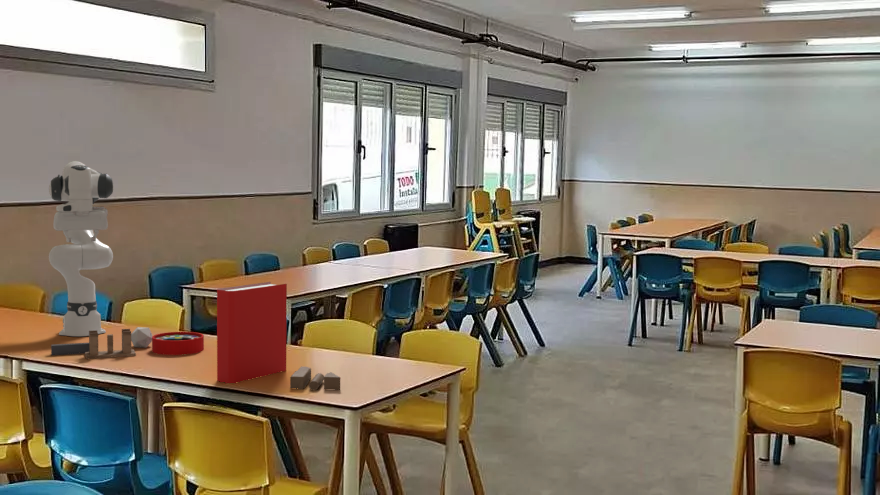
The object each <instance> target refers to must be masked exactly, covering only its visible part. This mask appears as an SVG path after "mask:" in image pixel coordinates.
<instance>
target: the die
mask: <svg viewBox="0 0 880 495" xmlns="http://www.w3.org/2000/svg"><path fill="white" fill-rule="evenodd" d="M152 336H153V334H152V331H151V329H150V327H141V326H138V327H136V328H135V329H134V330H133V331H131V344H133V347H134V348H145V349H146V348H147V347H148V346H149V345H150V344H152Z"/></svg>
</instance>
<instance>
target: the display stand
mask: <svg viewBox="0 0 880 495" xmlns="http://www.w3.org/2000/svg"><path fill="white" fill-rule="evenodd" d="M131 334H132V331H131V328H122V329H121V349H118V350H114V335H113V334H112V333H111V334H110V333H109V334H106V338H107V339H106V340H107V343H106V347H107V350H102V351H101V350H100V351H99V334H98V333H97V330H95V331H89V336H88V338H89V340H88V343H89V352H85V354H84V355H85V356H84V357H85V359H86V360H89V359H92V360H93V359H107V358H123V357H136V355H137V354H136V351H135V349H133V348H132V341H131Z"/></svg>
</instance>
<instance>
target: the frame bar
mask: <svg viewBox="0 0 880 495" xmlns="http://www.w3.org/2000/svg"><path fill="white" fill-rule="evenodd" d="M50 348H51V349H50V353H51V354H50V355H51V356H66V355H79V354H80V355H82V354H83V355H85V352H89V342H77V343H76V342H75V343H74V342H73V343H57V344H55V343H54V344H50Z"/></svg>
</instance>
